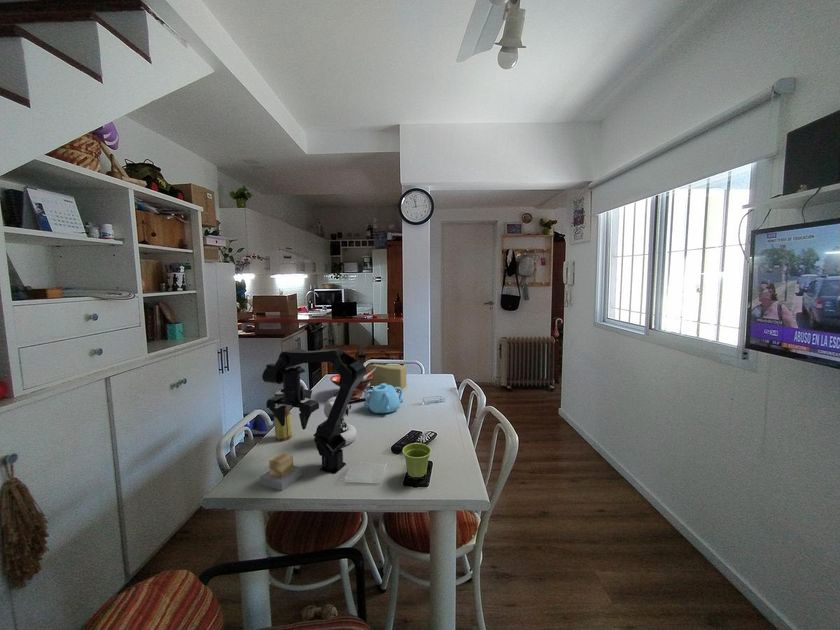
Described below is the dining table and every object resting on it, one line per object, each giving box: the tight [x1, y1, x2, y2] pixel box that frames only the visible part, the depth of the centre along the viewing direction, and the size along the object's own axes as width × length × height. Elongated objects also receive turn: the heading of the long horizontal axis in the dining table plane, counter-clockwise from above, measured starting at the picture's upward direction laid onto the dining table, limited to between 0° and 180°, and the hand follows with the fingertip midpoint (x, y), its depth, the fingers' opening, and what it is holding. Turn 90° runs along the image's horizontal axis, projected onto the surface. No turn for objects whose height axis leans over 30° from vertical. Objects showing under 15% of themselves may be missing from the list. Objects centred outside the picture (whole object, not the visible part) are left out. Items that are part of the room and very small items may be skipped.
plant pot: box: [402, 442, 432, 477], centre depth 107 cm, size 9×9×9 cm
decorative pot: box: [363, 383, 404, 414], centre depth 163 cm, size 16×16×14 cm
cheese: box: [369, 363, 407, 391], centre depth 195 cm, size 22×10×15 cm, turn 73°
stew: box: [330, 366, 378, 402], centre depth 182 cm, size 28×24×16 cm
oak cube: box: [268, 452, 294, 478], centre depth 105 cm, size 5×5×5 cm
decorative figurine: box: [323, 393, 358, 446], centre depth 131 cm, size 15×15×20 cm
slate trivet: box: [259, 464, 304, 492], centre depth 106 cm, size 9×9×2 cm
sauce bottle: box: [273, 390, 293, 442], centre depth 133 cm, size 6×6×20 cm
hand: (293, 427), depth 117 cm, fingers open, 9 cm apart
